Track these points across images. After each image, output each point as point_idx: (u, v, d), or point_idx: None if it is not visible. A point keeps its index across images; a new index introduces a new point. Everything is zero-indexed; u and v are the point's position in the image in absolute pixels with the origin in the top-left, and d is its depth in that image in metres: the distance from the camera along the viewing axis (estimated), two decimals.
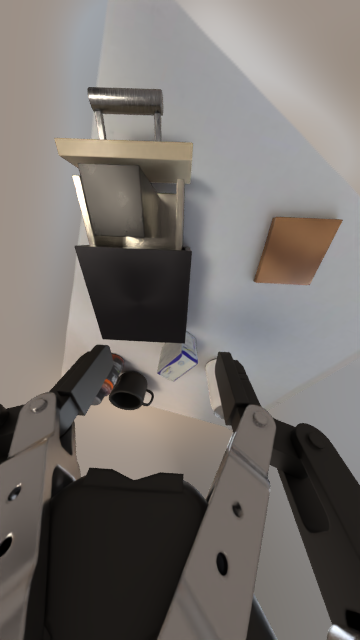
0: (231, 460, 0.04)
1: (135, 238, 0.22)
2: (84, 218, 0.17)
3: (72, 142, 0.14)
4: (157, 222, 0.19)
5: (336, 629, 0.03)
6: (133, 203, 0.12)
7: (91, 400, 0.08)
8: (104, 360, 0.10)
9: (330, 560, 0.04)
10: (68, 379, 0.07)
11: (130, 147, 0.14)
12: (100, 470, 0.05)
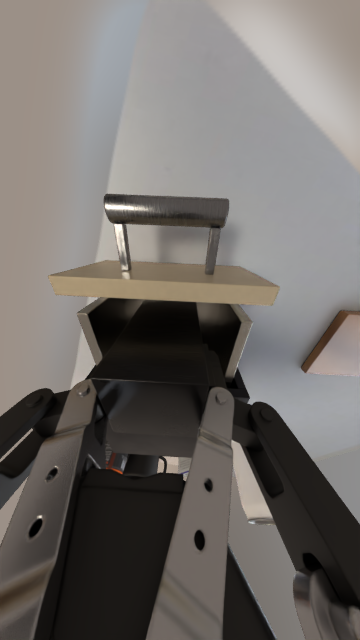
0: (200, 443, 0.05)
1: None
2: (94, 354, 0.11)
3: (77, 281, 0.08)
4: None
5: (297, 576, 0.04)
6: (187, 414, 0.07)
7: None
8: None
9: (287, 516, 0.05)
10: None
11: (173, 289, 0.08)
12: (100, 470, 0.05)
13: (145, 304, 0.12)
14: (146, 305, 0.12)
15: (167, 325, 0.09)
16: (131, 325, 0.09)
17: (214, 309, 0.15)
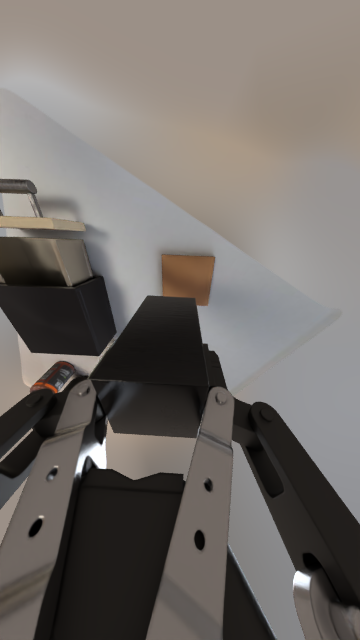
0: (200, 443, 0.05)
1: (51, 271, 0.27)
2: None
3: None
4: None
5: (297, 577, 0.04)
6: (187, 415, 0.07)
7: None
8: None
9: (287, 516, 0.05)
10: None
11: (7, 220, 0.18)
12: (100, 470, 0.05)
13: (145, 305, 0.12)
14: (146, 306, 0.12)
15: (167, 326, 0.09)
16: (131, 325, 0.09)
17: None
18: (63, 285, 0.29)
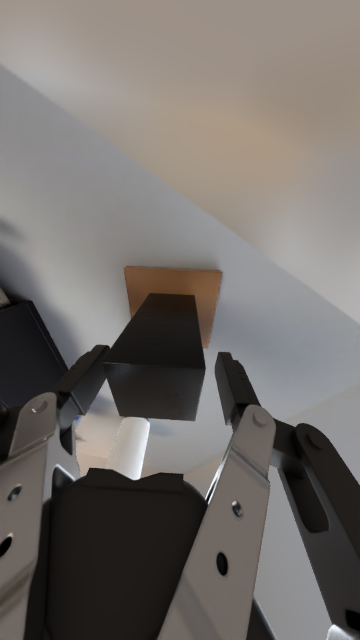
0: (231, 460, 0.04)
1: None
2: None
3: None
4: None
5: (335, 629, 0.03)
6: (186, 397, 0.08)
7: (91, 400, 0.08)
8: None
9: (330, 560, 0.04)
10: (68, 379, 0.07)
11: None
12: (100, 470, 0.05)
13: (147, 301, 0.13)
14: (149, 302, 0.13)
15: (168, 319, 0.10)
16: (135, 319, 0.10)
17: None
18: None
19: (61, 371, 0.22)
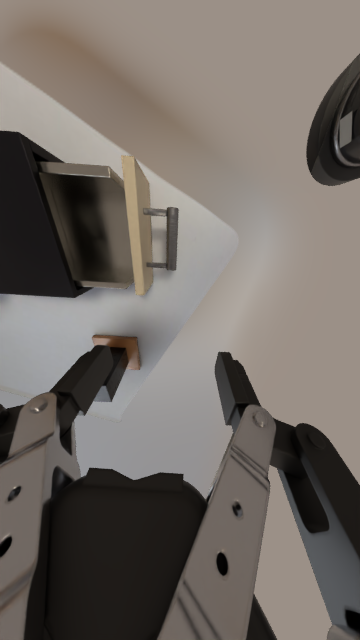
0: (231, 460, 0.04)
1: (92, 223, 0.20)
2: (69, 166, 0.13)
3: (133, 181, 0.14)
4: None
5: (336, 629, 0.03)
6: (97, 399, 0.26)
7: (91, 400, 0.08)
8: (104, 360, 0.10)
9: (330, 560, 0.04)
10: (68, 379, 0.07)
11: (136, 246, 0.16)
12: (100, 470, 0.05)
13: (122, 356, 0.31)
14: (122, 357, 0.31)
15: (118, 375, 0.29)
16: (116, 368, 0.28)
17: (125, 270, 0.23)
18: (76, 232, 0.21)
19: None
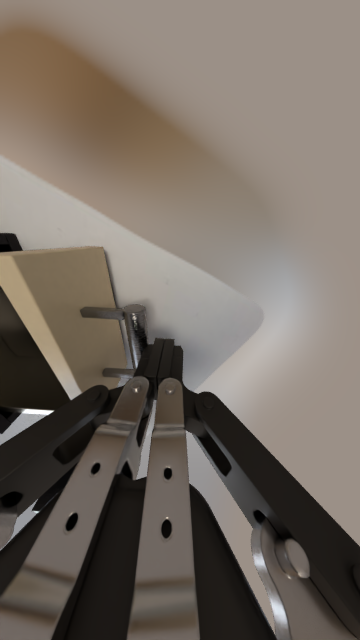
0: (155, 439, 0.05)
1: None
2: None
3: (26, 297, 0.06)
4: None
5: (252, 537, 0.04)
6: None
7: None
8: None
9: (238, 487, 0.05)
10: (148, 366, 0.08)
11: (68, 379, 0.09)
12: None
13: None
14: None
15: None
16: None
17: None
18: (1, 314, 0.14)
19: None
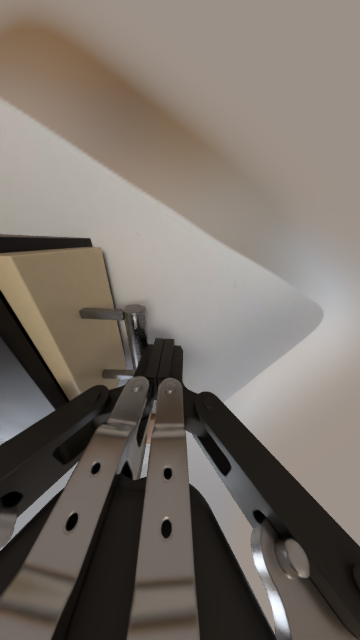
0: (155, 439, 0.05)
1: None
2: None
3: (26, 298, 0.06)
4: None
5: (252, 537, 0.04)
6: None
7: None
8: None
9: (238, 487, 0.05)
10: (148, 366, 0.08)
11: (68, 382, 0.09)
12: None
13: None
14: None
15: (138, 476, 0.22)
16: None
17: None
18: None
19: None
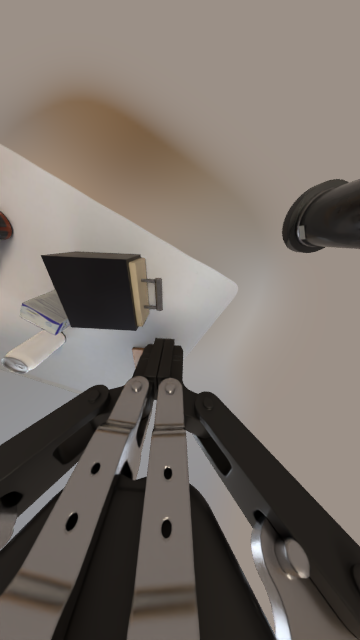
0: (155, 439, 0.05)
1: None
2: None
3: (134, 272, 0.25)
4: None
5: (253, 537, 0.04)
6: None
7: None
8: None
9: (238, 487, 0.05)
10: (148, 366, 0.08)
11: (137, 301, 0.28)
12: None
13: None
14: None
15: None
16: None
17: None
18: None
19: None
